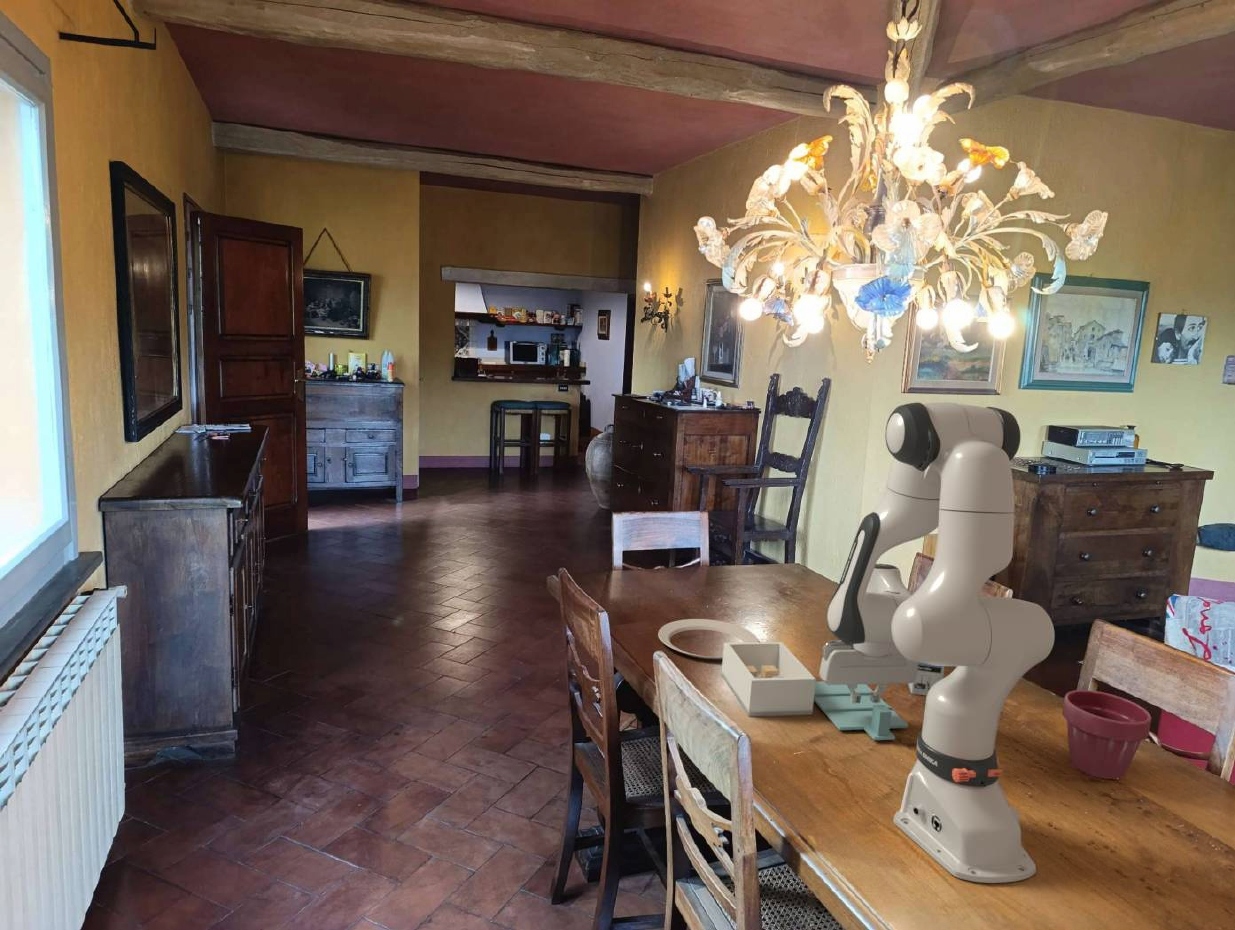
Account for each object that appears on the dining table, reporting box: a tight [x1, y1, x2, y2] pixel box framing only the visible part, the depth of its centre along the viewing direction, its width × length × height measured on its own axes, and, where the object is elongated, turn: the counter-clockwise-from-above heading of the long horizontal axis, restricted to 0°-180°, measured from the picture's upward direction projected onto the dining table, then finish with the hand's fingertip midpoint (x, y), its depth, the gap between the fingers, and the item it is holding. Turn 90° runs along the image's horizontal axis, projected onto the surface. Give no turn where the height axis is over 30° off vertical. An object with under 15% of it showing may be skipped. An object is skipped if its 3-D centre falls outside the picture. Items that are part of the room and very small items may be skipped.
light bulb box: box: [907, 662, 946, 697], centre depth 188 cm, size 11×7×11 cm, turn 168°
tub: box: [720, 641, 817, 717], centre depth 180 cm, size 20×14×8 cm
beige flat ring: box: [657, 618, 759, 660], centre depth 207 cm, size 26×26×2 cm
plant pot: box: [1062, 689, 1152, 780], centre depth 155 cm, size 14×14×13 cm
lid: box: [814, 680, 909, 741], centre depth 173 cm, size 25×15×7 cm, turn 9°
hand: (864, 701), depth 170 cm, fingers open, 3 cm apart
